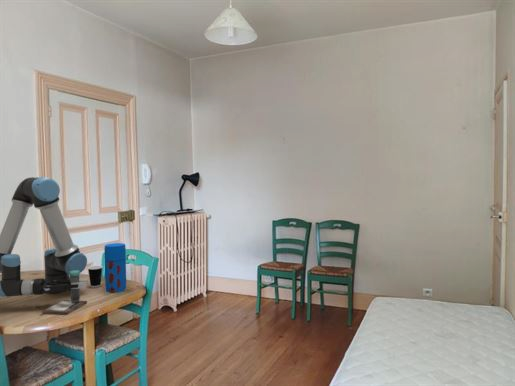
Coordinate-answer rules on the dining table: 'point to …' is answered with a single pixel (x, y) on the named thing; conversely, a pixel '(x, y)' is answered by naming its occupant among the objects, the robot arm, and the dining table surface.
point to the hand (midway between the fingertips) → (86, 283)
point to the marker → (75, 292)
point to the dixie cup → (95, 275)
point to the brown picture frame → (64, 307)
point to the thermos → (115, 267)
